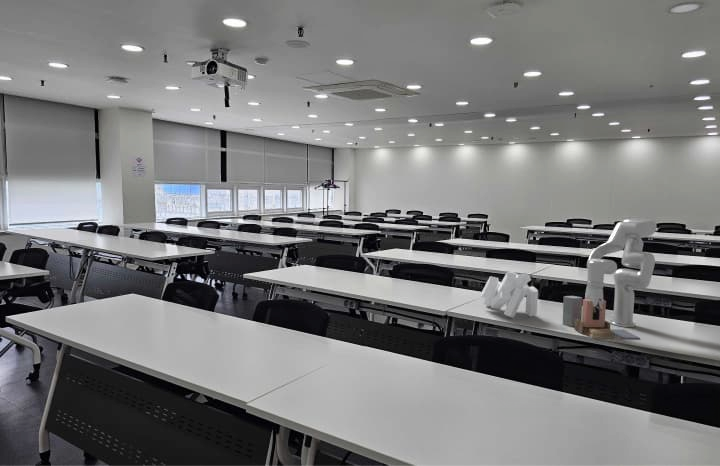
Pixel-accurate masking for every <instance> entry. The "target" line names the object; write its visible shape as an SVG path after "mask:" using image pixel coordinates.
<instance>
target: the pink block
mask: <svg viewBox="0 0 720 466" xmlns="http://www.w3.org/2000/svg"><path fill="white" fill-rule="evenodd" d="M606 304H607V301H606V300H605V299H603V306H602V308H603V309H602V310H601V311H600V315H599V320H593V312H594V307H592V306H591V301H590V300H588V299H585V298H584V299H583V298H582V320H581V321H582V322H584V327H605V321H606V308H607V305H606ZM597 306H598V305H597ZM596 309H597V308H596Z"/></svg>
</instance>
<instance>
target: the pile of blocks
mask: <svg viewBox="0 0 720 466" xmlns="http://www.w3.org/2000/svg"><path fill="white" fill-rule="evenodd" d="M531 280H532V278H531V277H530V274H528V273H524V272H522V273H520V274H518V273H516V271H507V272H506V273H505V275H504V277H503V279H502V281H499V277H496V276H492V275H491V276H489V278H488V280H487V281H486V283H485V285H484V287H483V289H482V291H481V298H483V299H484V302H483V304H484V305H485V306H487V307H489V306H491V307H490V308H492V309H496V310H501V308H503V307H504V306H506V308H505V310H504V313H503V315H505V316H507V317H509V318H512V319H514V318H515V316H516V313H517V312H518V309H519V308H520V304H521V303H522V302H523V300H524V298H525V297H526V298H525V313H526V314H527V315H528V316H529V317H530V318H532V317H536V316H537V313H538V301H539V300H538V298H539V290H538V289H537V288H536V287H535V286H529V285H528V283H530V282H531Z"/></svg>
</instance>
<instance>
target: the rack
mask: <svg viewBox="0 0 720 466" xmlns="http://www.w3.org/2000/svg"><path fill="white" fill-rule="evenodd" d="M611 325H612V324H611V323H610V321H607V320H605V327H584V322H582V320H581V321H580V320H578V319H575V326H574V331H575V332H577V333H579V334H581V335H588V333H589V329H609V330H610V329H611Z"/></svg>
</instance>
